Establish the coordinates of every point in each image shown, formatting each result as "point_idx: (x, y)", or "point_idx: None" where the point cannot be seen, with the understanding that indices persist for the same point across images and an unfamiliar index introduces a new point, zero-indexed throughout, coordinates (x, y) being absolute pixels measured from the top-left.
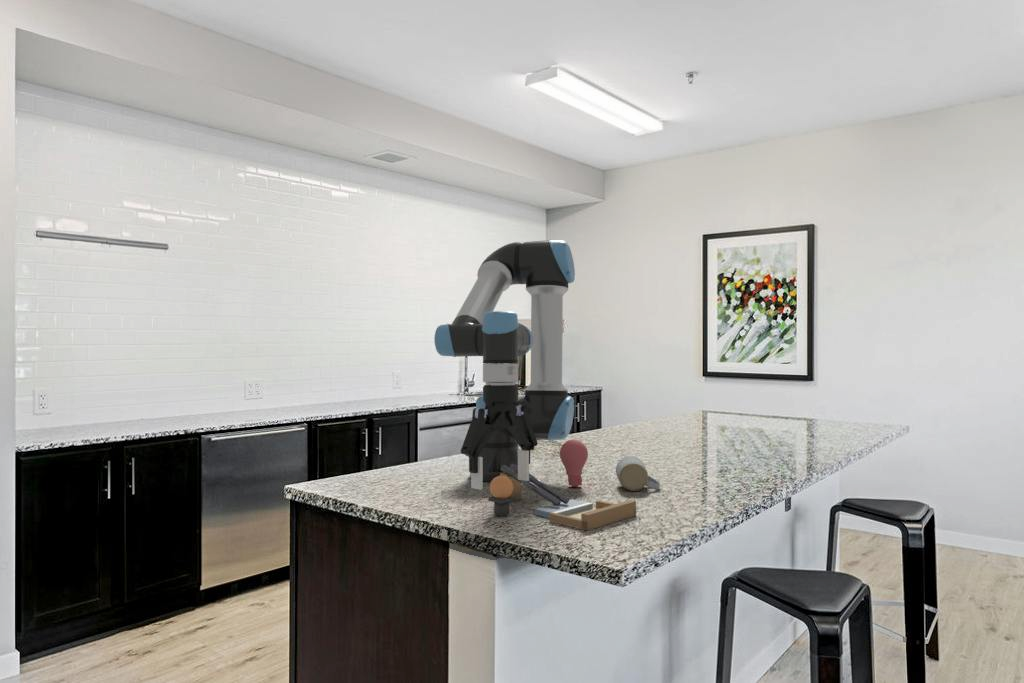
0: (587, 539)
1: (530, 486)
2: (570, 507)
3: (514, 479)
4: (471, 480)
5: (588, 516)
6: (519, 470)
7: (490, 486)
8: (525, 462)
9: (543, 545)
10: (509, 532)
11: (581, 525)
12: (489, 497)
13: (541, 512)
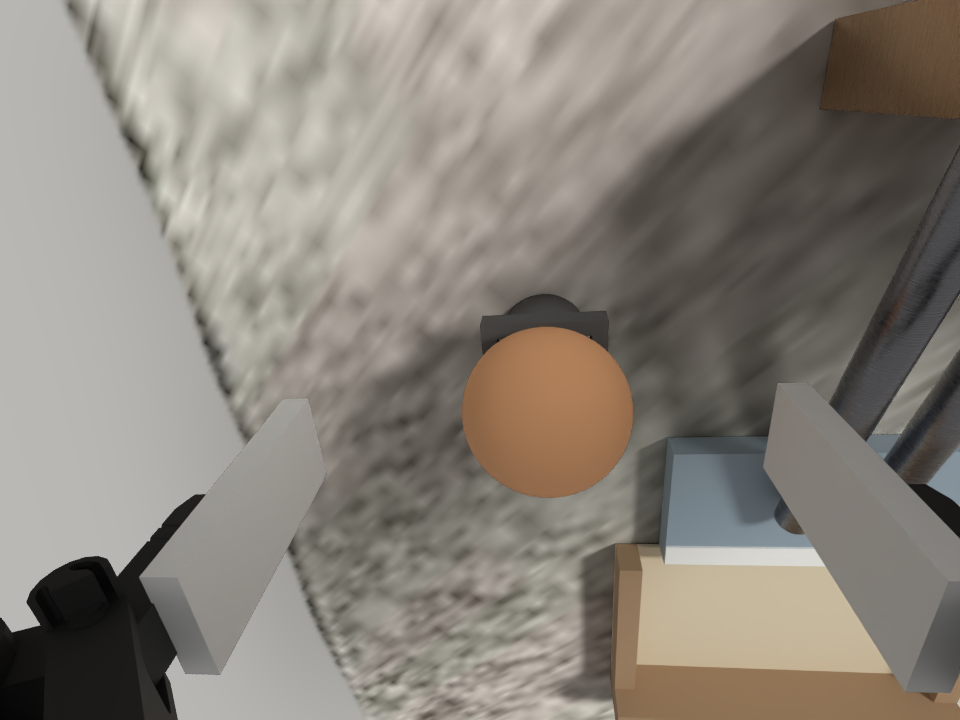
0: (531, 713)
1: (849, 383)
2: (807, 549)
3: None
4: (259, 432)
5: None
6: (810, 442)
7: (466, 389)
8: (836, 566)
9: (385, 671)
10: (384, 536)
11: (612, 673)
12: (481, 334)
13: (668, 484)
